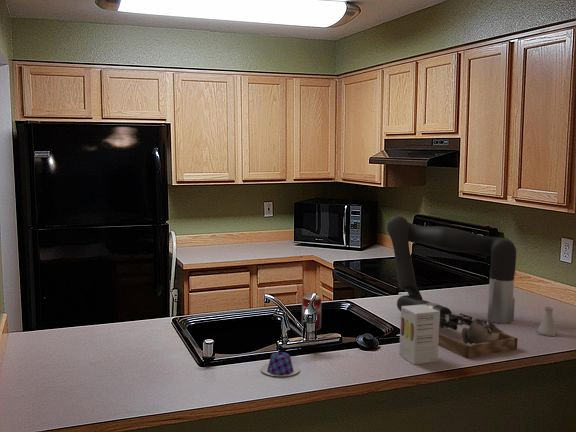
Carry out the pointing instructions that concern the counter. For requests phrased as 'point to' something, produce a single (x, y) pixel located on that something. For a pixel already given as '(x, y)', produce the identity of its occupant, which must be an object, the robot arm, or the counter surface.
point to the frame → (479, 346)
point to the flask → (547, 323)
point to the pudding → (280, 365)
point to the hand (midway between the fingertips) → (466, 325)
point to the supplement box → (419, 334)
